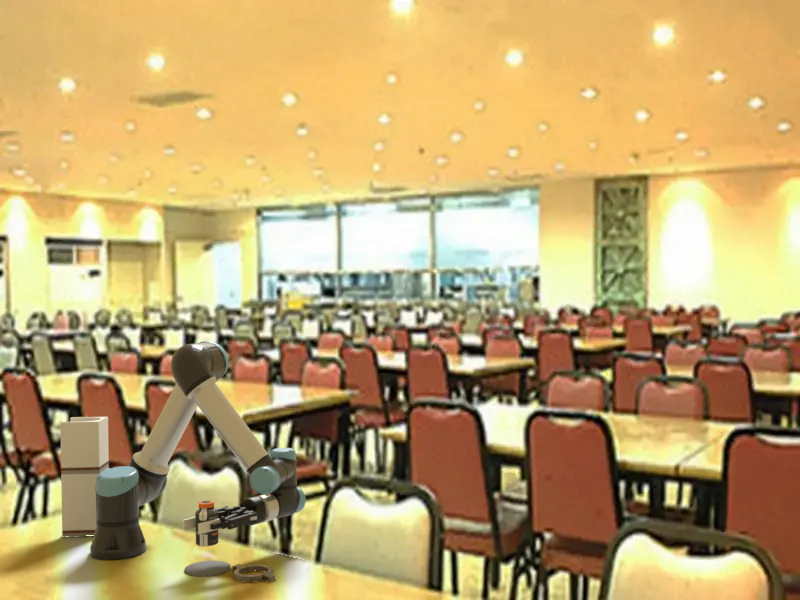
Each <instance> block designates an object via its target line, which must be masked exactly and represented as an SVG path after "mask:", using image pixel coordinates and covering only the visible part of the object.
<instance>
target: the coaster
mask: <svg viewBox="0 0 800 600" xmlns="http://www.w3.org/2000/svg"><path fill="white" fill-rule="evenodd" d="M229 569H231V564H230V563H229V562H226V561H222V560H203V561H197V562H194V563H190V564H189V565H186V566H185V567H184V573H185V574H186V575H188V576H193V577H212V575H214V576H218V574H219V575H222V573H223V574H225V573H227V572H228V570H229ZM229 571H230V570H229ZM224 572H225V573H224Z"/></svg>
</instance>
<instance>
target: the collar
mask: <svg viewBox="0 0 800 600" xmlns="http://www.w3.org/2000/svg"><path fill="white" fill-rule="evenodd" d="M255 570H256V571H255ZM233 571H234V572H233ZM248 571H253V572H260V571H265V572H266V573H265V572H262V573H261V574H260V573H259V574H253V575H252V574H245V573H244V572H246V573H249V572H248ZM232 572H233V579H234V580H235V579H237V580H236V581H238V580H239V581H238V582H241V581H245V582H244V583H254V582H253V581H258V582H266V581H268V582H267V583H269V582H270V583H272V582H271V581H273V580H275V581H276V574H274V569H273V567H272V566H269V565H266V564H249V565H242V564H235V565H232ZM242 573H243V574H242ZM262 580H264V581H262ZM273 582H274V581H273Z"/></svg>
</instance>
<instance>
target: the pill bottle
mask: <svg viewBox="0 0 800 600" xmlns="http://www.w3.org/2000/svg"><path fill="white" fill-rule="evenodd" d="M216 509H217V508H215V502H214V501H213V500H202V501H199V502H198V509H197V510H196V511H195V514H194V517H195V523H196V528H195V544H196V546H198V547H213V546H215V545H217V544H219V529H218V530H215V531H211V532H207V533H204V534H198V524H199V523H203V522H206V521H210V520H214V519H218V511H217V510H216Z"/></svg>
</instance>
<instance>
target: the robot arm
mask: <svg viewBox="0 0 800 600" xmlns="http://www.w3.org/2000/svg"><path fill="white" fill-rule="evenodd" d="M228 368H229V355H228V354H227V351H226V350H225V348H223V347H222V346H221V345H220V344H218V343H216V342H214V341H206V340H204V341H200V342H197V343H188V344H184V345H182V346H180V347H179V348H178V349H177V350H175V352H174V353H173V355H172V357H171V359H170V372H171V375H172V378H173V379H174V381H175V385H174V387H173V389H172V391H171V393H170V395H169V396H168V398H167V401H166V403H165V404H164V406H163V408H162V411H161V412H160V414H159V416H158V418H157V420H156V422H155V423H154V426H153V428H152V430H151V432H150V434H149V435H148V437H147V440H146V441H145V443H144V445H143V447H142V449H141V451H138V452H135V453H134V454H133V456H132V457H131V459H130V461H129V463H128V465H127V466H125V465H122V466H114V467H112V468H110V467H109V469H106V470H104V471H102V472H101V473H99V474H98V476H97V478H96V485H95V491H96V530H95V534H94V537H92V540H91V541H92V542H91V544H90V547H89V550H90V553H89V554H90V556H91V557H92V558H94V559H97V560H111V561H112V560H121V559H128V558H129V559H130V558H134V557H137V556H139V555H141V554H143V553H145V552H146V550H147V548H146V547H147V546H146V545H147V544H146V543H147V542H146V539H145V537H144V534H143V530H142V528H141V525H140V509H139V508H140V507H141V506H144V505H147V504H149V503H150V502H153V501H155V500H156V499H157V498H158V497H160V496H161V495H162V494H163V493H164V491H165V490H166V487H167V486H168V485H167V484H168V474H169V472H170V466H169V464H168V463H169V462H170V460H171V457H172V456H173V454H174V452H175V450H176V448H177V447H178V444H179V442H180V440H181V438H182V436H183V434H184V433H185V430H186V429H187V427H188V425H189V423H190V421H191V419H192V417H193V416H194V414H195V411H196V410H197V408H199V409H200V411H201V412H202V413H203V415H204V417H206V419H207V420H208V422H209V423H210V424H211V426H212V427H213V429H215V431H216V432H217V433H218V435H219V436H220V438H221V439H222V440H223V442H224V443H225V444H226V446H227V447H228V449H229V450H230V451H231V452H232V453H233V455H234V456H235V457H236V459H237V460H238V462H239V463H240V464H241V465H242V467H243V469H244V470H245V471H246V472H247V474H248V475H249V476H250V477H249V485H250V487H251V489H252V490H253V491H254V492H255V493H257V494H260V495H257V496H252V497H247V498H245V499H244V500H242V502H241V504H240V505H236V506H233V507H229V506H227V505H225V506H223V507H222V506H221V507H219V508H215V509H216V510H217V511H218V519H214V520H210V521H206V522H203V523H199V524H198V534H204V533H207V532H211V531H215V530H218V531H219V530H220V529H221V530H225V529H227V530H233V529H236V528H239V527H240V528H241V527H243V526H246V525H248V526H254V525H258V524H261V523H266V522H267V523H268V522H270V521H273V520H275V519H280V518H284V517H287V516H291V515H294V514H295V515H296V514H297V513H299V512H301V511H302V510H303V509H304V508H305V507H306V506H305V505H306V498H307V497H306V496H305V494H304V491H303V490H302V488H300V487H298V486H297V485H298V483H297V482H298V480H297V477H298V476H297V462H298V460H297V453H296V450H295V449H293V448H292V447H277V448H273V449H271V450H270V452H269V453H268V451H266V449H265V447H264V446H263V445H262V444H261V442H260V441H259V439H258V438H257V437H256V435H255V434H254V433H253V431H252V430H251V429H250V427H249V426H248V425H247V424H246V422H245V420H243V418H242V417H241V415H240V414H239V413H238V411H237V410H236V408H235V407H234V406H233V404H232V403H231V402H230V400H228V398H227V397H226V395H225V394H224V393H223V391H222V390H221V388H219V386H218V384H217V383H216V382H217V381H218V380H220V379H221V378H222V377H224V375H225V374H226V372H227V371H228V370H229V369H228ZM191 529H196V523H195V516H192V517H189V518H185V519H182V530H183V531H188V530H191Z"/></svg>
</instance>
